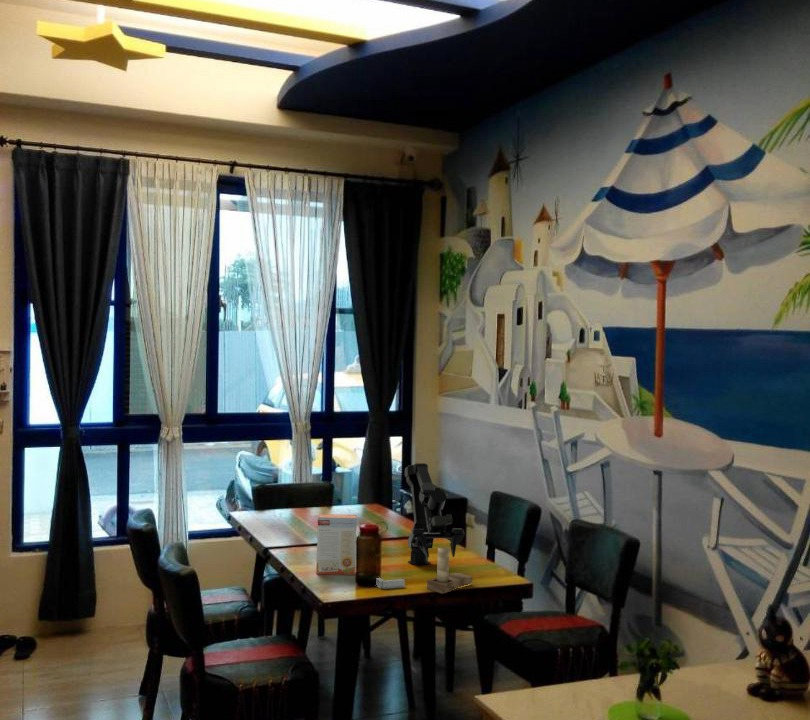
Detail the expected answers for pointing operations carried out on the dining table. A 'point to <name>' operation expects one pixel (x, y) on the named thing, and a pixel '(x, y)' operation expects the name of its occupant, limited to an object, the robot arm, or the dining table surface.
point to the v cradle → (390, 583)
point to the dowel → (443, 565)
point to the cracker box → (336, 544)
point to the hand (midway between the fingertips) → (441, 556)
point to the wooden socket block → (449, 583)
